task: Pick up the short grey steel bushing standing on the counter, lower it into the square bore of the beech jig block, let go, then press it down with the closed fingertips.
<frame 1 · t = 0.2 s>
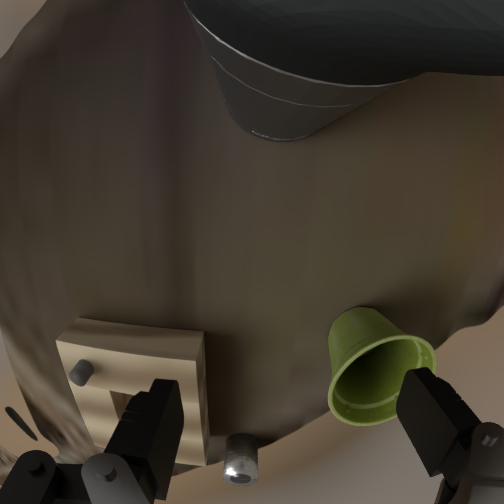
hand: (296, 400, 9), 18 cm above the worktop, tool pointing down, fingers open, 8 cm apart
bushing: (241, 442, 33), on the worktop
jig: (146, 385, 30), on the worktop
plant pot: (355, 332, 28), on the worktop
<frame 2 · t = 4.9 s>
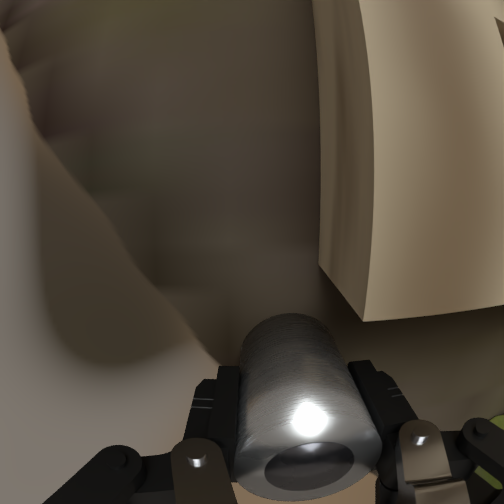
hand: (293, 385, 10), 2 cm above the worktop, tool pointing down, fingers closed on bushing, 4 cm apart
bushing: (288, 355, 12), on the worktop, touching gripper
jig: (478, 113, 10), on the worktop
plant pot: (482, 437, 15), on the worktop
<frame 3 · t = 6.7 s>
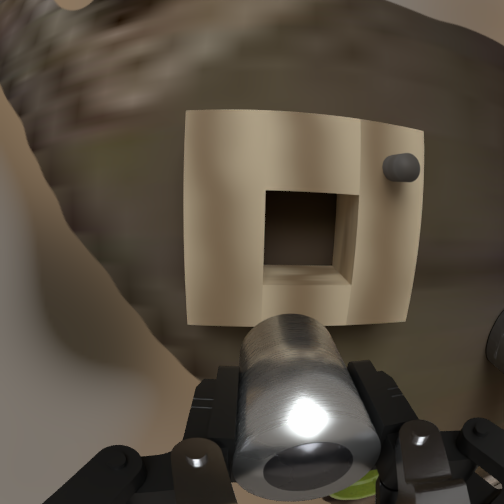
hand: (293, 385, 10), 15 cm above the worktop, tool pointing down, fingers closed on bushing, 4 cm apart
bushing: (287, 356, 12), point 13 cm above the worktop, touching gripper
jig: (299, 215, 23), on the worktop
plant pot: (351, 418, 29), on the worktop
when the fingers open (5 cm above the worktop, at t = 8.8 s): bushing drops 3 cm, resting in jig.
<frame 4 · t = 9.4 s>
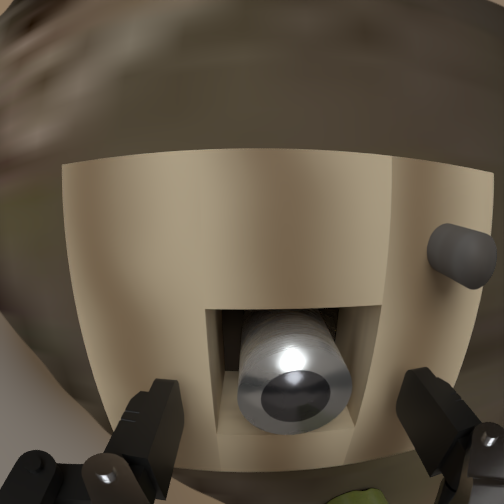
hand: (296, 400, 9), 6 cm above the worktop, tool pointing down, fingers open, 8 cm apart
bushing: (281, 322, 15), resting in jig
jig: (281, 305, 15), on the worktop
plant pot: (351, 500, 20), on the worktop
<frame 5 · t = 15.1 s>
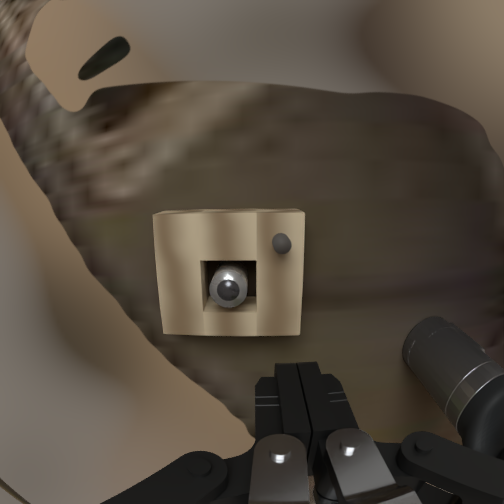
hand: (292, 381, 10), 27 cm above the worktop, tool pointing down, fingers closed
bushing: (231, 273, 38), resting in jig
jig: (231, 266, 37), on the worktop
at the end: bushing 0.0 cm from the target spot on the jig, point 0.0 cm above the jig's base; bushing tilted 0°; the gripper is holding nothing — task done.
